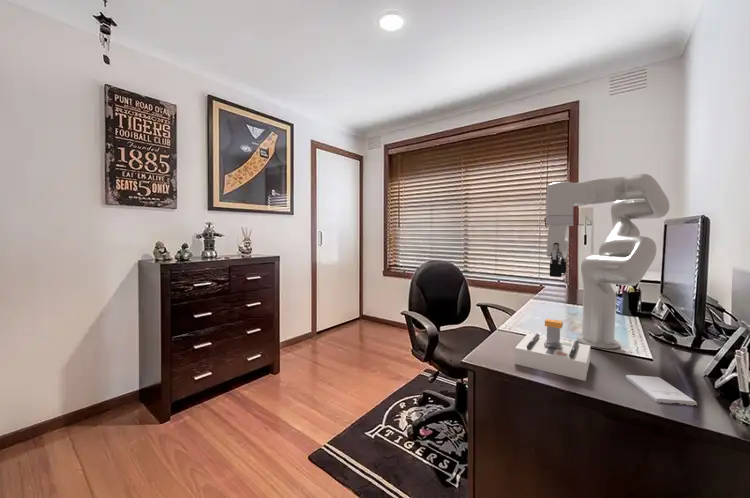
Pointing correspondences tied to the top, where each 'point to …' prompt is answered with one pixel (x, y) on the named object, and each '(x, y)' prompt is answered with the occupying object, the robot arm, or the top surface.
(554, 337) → the switch handle
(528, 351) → the switch box
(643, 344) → the top surface
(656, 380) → the external hard drive
